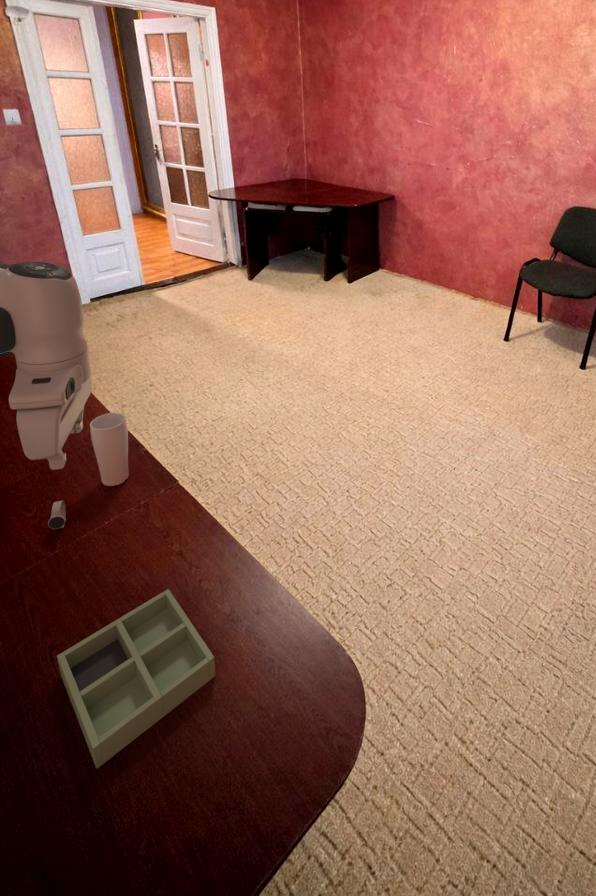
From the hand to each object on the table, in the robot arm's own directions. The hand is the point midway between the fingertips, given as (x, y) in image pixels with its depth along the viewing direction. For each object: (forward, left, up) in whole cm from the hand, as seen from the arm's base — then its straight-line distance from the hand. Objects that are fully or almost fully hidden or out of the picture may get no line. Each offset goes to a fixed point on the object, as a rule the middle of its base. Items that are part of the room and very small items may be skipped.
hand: (68, 447), depth 76 cm
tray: (0, -23, -26) cm, 35 cm away
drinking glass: (+12, +23, -26) cm, 36 cm away
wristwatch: (0, +16, -26) cm, 30 cm away
